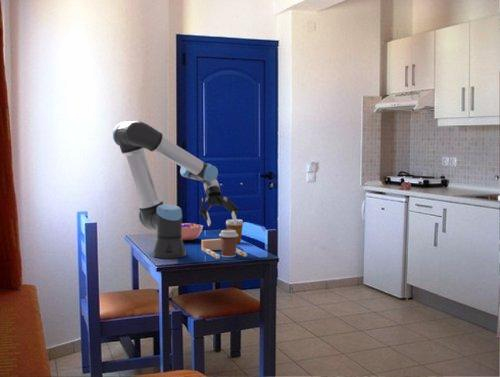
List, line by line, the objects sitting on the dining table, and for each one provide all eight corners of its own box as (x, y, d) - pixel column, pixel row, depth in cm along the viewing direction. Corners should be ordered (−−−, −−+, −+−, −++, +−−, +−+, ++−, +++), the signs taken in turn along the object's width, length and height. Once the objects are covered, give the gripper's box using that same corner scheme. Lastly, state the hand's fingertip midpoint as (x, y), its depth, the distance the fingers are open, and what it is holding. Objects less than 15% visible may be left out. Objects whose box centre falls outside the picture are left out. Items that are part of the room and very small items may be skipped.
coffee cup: (218, 257, 272) (218, 232, 271) (219, 253, 281) (219, 229, 280) (238, 258, 272) (238, 232, 271) (238, 254, 281) (238, 229, 280)
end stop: (231, 248, 294) (231, 239, 294) (203, 250, 289) (203, 240, 288) (229, 247, 297) (229, 238, 297) (201, 249, 291) (201, 239, 291)
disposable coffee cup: (225, 244, 306) (225, 221, 305) (225, 241, 316) (225, 219, 315) (243, 244, 307) (243, 221, 306) (243, 241, 316) (243, 219, 315)
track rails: (246, 256, 276) (247, 253, 276) (216, 258, 270) (216, 255, 270) (231, 248, 294) (231, 245, 294) (203, 250, 289) (203, 247, 288)
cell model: (201, 243, 309) (201, 222, 308) (163, 243, 309) (163, 221, 308) (204, 238, 326) (204, 217, 325) (168, 237, 326) (168, 217, 325)
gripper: (233, 193, 305) (244, 226, 293) (187, 195, 295) (196, 229, 283) (237, 184, 300) (248, 217, 287) (190, 186, 290) (200, 220, 278)
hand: (222, 223), depth 285 cm, fingers open, 13 cm apart
